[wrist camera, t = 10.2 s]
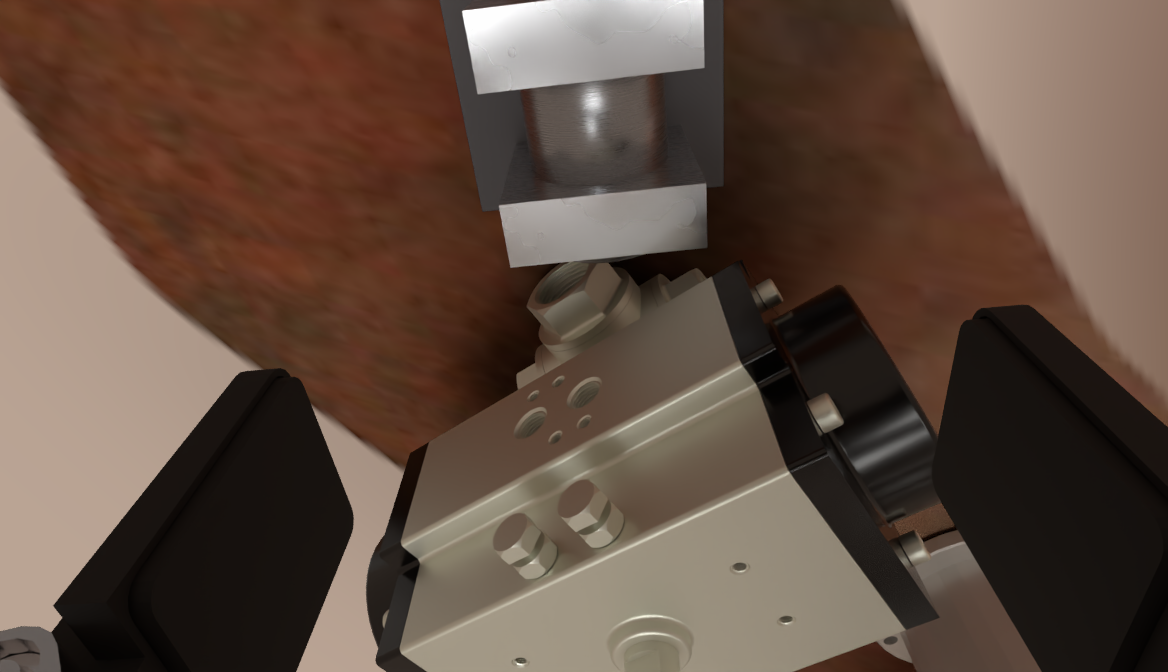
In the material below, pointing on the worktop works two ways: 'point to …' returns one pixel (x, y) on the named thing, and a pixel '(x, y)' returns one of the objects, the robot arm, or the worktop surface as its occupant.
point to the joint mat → (501, 120)
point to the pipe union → (593, 125)
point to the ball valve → (665, 491)
